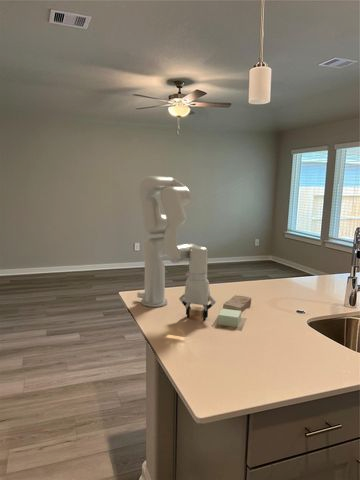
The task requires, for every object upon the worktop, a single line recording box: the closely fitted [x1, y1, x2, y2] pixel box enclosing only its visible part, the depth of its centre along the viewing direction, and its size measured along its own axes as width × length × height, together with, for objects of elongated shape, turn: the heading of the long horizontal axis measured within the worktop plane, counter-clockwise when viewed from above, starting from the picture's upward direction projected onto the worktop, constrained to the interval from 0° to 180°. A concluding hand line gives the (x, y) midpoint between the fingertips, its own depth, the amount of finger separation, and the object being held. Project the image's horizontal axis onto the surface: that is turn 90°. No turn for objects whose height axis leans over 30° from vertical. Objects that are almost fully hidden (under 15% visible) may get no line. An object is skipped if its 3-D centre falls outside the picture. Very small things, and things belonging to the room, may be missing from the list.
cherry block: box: [189, 306, 204, 321], centre depth 152 cm, size 5×5×5 cm
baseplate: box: [211, 316, 247, 332], centre depth 148 cm, size 12×14×1 cm
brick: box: [222, 294, 252, 313], centre depth 167 cm, size 16×8×5 cm, turn 151°
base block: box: [217, 308, 242, 327], centre depth 148 cm, size 8×8×4 cm
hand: (196, 317), depth 152 cm, fingers open, 6 cm apart
